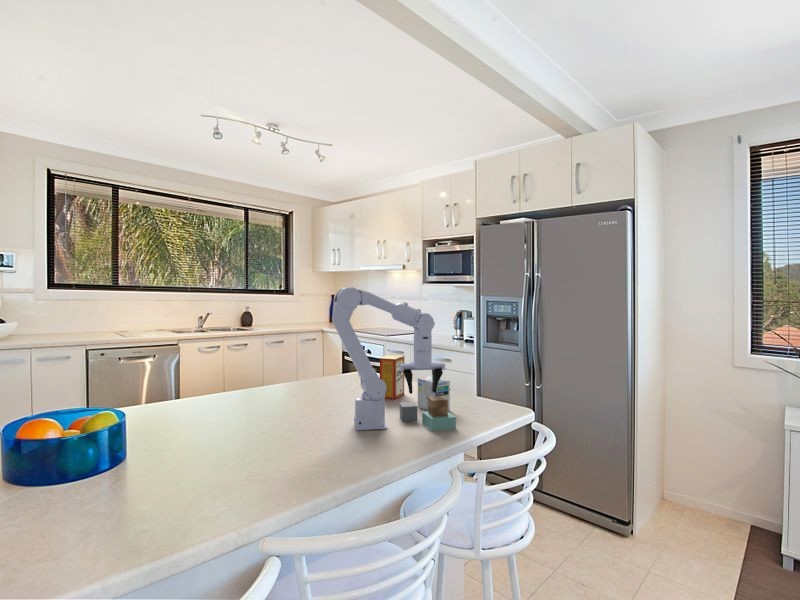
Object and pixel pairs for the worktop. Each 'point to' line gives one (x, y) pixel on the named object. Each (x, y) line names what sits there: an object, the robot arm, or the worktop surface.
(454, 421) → the teal base block
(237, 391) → the worktop surface
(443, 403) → the walnut cube
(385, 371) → the baking soda box
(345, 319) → the robot arm
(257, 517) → the worktop surface
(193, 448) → the worktop surface
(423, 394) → the light bulb box
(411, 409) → the slate cube
